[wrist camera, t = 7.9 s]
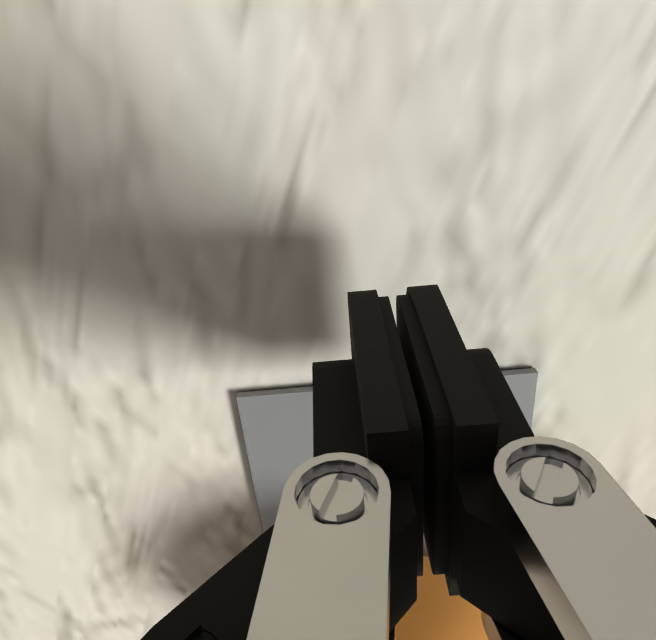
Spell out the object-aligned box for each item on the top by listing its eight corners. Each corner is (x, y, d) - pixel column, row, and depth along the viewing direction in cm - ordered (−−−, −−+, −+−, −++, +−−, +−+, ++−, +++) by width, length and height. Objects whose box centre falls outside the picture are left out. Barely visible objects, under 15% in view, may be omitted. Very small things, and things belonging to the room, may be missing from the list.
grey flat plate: (237, 392, 13) (236, 397, 13) (534, 367, 13) (537, 372, 13) (278, 604, 17) (278, 611, 17) (508, 587, 17) (510, 593, 17)
